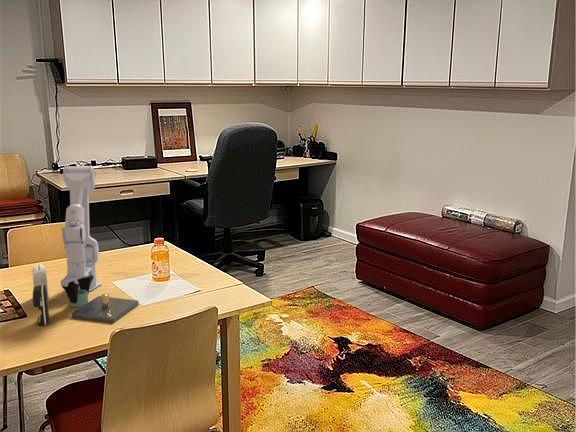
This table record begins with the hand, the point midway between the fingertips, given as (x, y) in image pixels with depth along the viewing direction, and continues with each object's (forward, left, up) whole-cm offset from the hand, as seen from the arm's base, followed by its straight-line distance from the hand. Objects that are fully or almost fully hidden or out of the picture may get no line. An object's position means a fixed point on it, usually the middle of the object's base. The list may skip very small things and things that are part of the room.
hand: (79, 299), depth 183 cm
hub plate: (+12, -3, -1) cm, 12 cm away
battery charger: (-2, -16, -2) cm, 16 cm away
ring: (0, 0, -1) cm, 1 cm away
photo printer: (-14, -1, -2) cm, 14 cm away
